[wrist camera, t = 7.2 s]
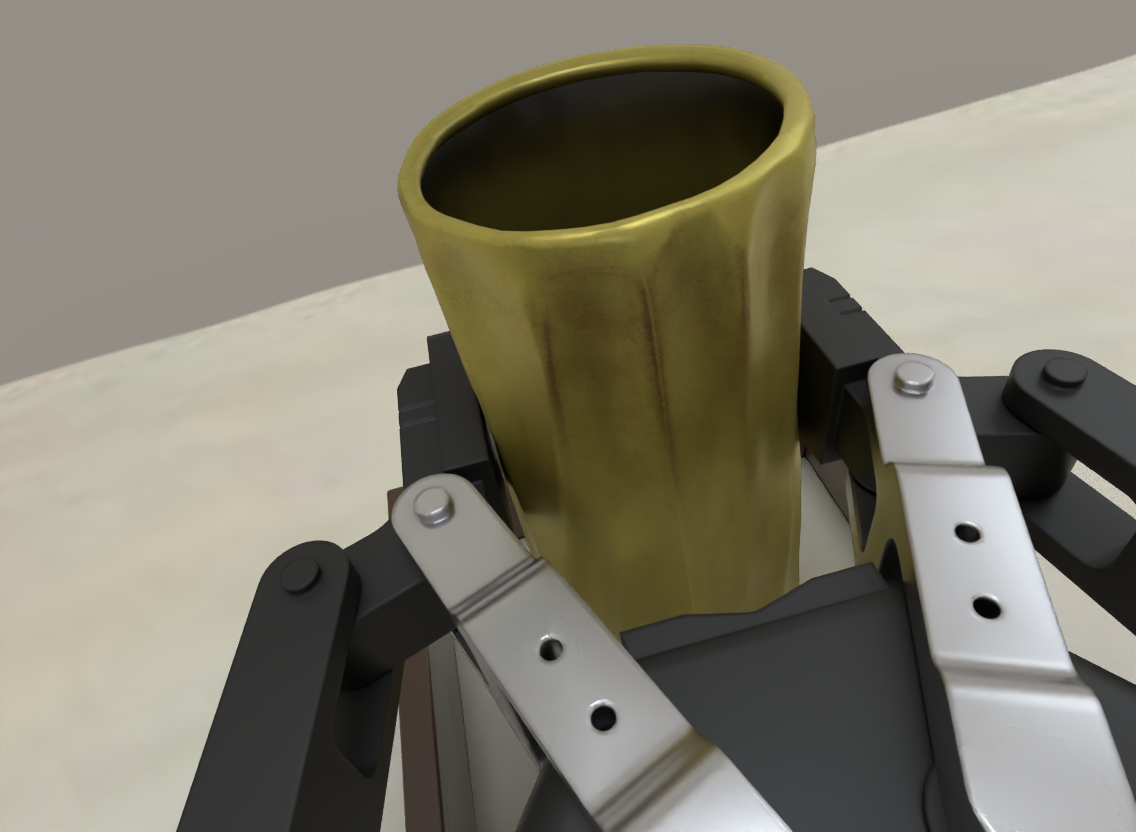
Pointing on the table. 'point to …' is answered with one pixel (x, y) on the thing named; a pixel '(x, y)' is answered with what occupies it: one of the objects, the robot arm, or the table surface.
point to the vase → (633, 313)
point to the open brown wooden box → (435, 710)
